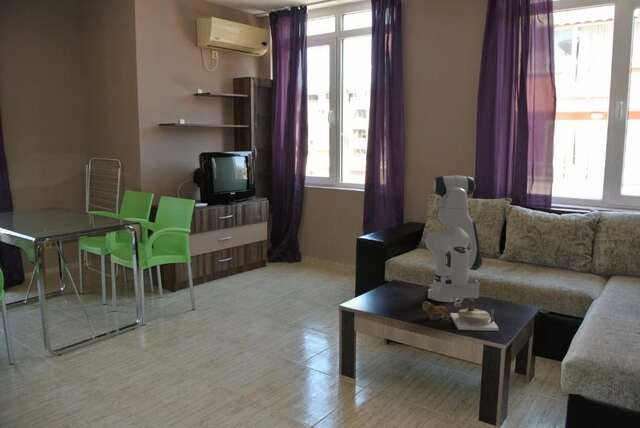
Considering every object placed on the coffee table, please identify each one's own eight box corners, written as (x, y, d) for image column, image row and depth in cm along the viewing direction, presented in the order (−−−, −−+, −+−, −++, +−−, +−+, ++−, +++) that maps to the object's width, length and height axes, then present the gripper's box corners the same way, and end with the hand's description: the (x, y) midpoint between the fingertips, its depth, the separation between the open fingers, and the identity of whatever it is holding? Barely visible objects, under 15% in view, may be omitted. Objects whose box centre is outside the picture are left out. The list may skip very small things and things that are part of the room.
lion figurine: (423, 320, 257) (423, 303, 256) (420, 316, 263) (421, 299, 261) (452, 320, 257) (453, 303, 256) (449, 317, 263) (450, 300, 261)
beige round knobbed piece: (454, 309, 264) (455, 297, 263) (483, 310, 263) (484, 298, 262) (461, 321, 247) (462, 308, 246) (493, 322, 246) (494, 309, 245)
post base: (450, 315, 264) (450, 301, 263) (487, 316, 263) (488, 302, 262) (458, 329, 246) (459, 314, 244) (498, 330, 245) (499, 315, 244)
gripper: (478, 278, 260) (476, 304, 262) (437, 277, 261) (436, 303, 263) (481, 281, 253) (480, 308, 256) (439, 280, 254) (438, 307, 256)
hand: (457, 306), depth 259 cm, fingers closed
